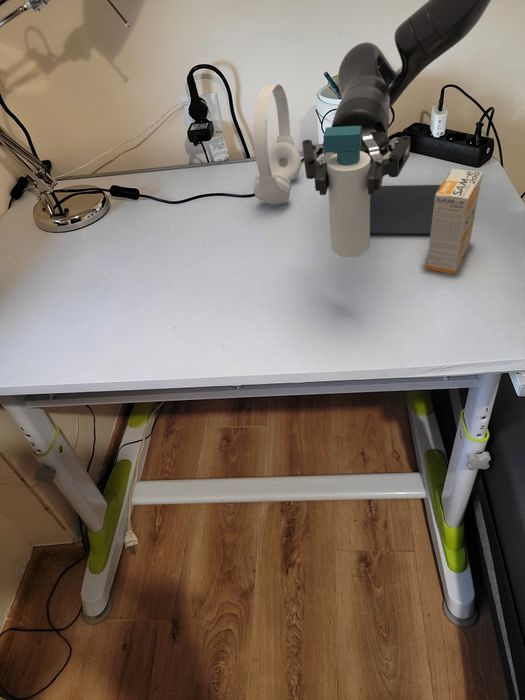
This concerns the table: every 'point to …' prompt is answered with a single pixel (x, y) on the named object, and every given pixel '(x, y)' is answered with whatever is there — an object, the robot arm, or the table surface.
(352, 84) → the robot arm
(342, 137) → the spray bottle
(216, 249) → the table surface
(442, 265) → the supplement box
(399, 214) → the mat
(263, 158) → the headphones
